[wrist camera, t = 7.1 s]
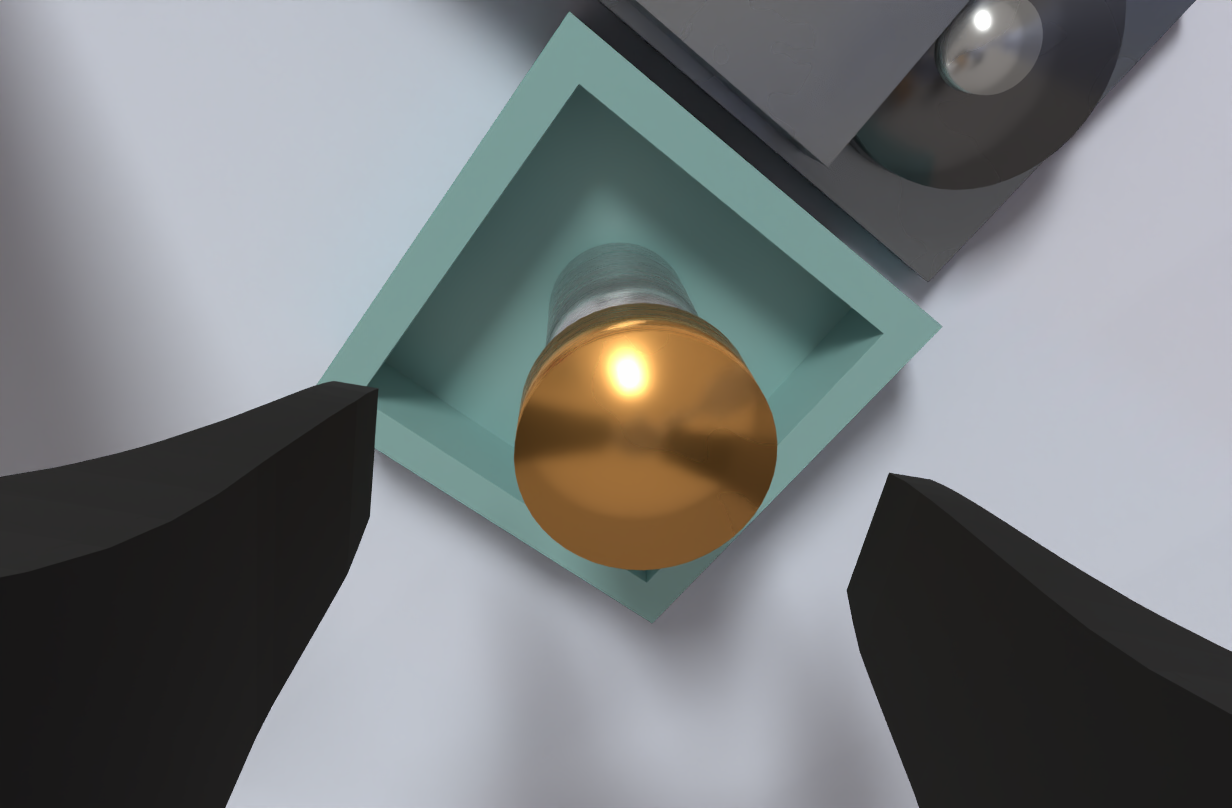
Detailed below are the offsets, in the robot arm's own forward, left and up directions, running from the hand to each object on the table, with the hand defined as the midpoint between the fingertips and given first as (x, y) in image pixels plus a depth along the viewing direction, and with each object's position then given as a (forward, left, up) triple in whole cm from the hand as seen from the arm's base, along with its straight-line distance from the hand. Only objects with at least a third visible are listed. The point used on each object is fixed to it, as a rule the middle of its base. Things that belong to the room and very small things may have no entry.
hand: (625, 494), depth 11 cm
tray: (0, 0, -8) cm, 8 cm away
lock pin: (0, 0, -7) cm, 7 cm away
